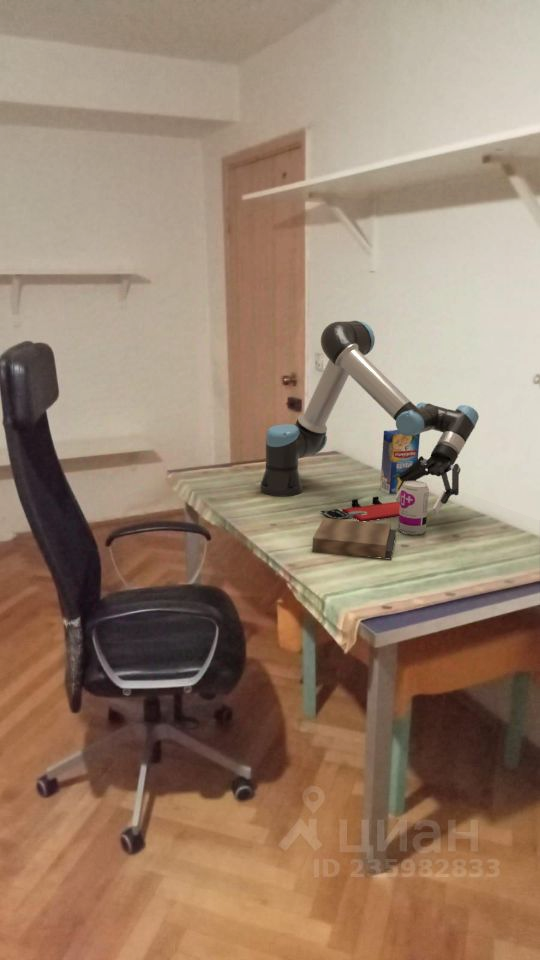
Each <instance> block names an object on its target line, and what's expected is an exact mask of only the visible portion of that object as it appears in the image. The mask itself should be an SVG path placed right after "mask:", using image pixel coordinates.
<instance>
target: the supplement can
mask: <svg viewBox="0 0 540 960" xmlns="http://www.w3.org/2000/svg"><path fill="white" fill-rule="evenodd" d="M429 493H430V489H429V486H428V483H426V482H425V481H419V480H416V481H405V482H404V484H403V485H402V487H401V496H400V510H399V517H398V526H397V527H398V528H397V529H398V530H399V532H401V533H402V532H404V533H406V534H405V535H408V534H414V535H413V536H418V535H417V534H420V535H423V534H424V533H425V532H426V529H427V520H428V519H427V518H428V508H429V507H428V505H429V495H430V494H429ZM404 533H403V534H404ZM422 533H423V534H422ZM415 534H416V535H415Z"/></svg>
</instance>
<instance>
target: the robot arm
mask: <svg viewBox="0 0 540 960" xmlns="http://www.w3.org/2000/svg"><path fill="white" fill-rule="evenodd" d="M375 340H376V339H375V334H374V331H373V329H372V327H371V326H370V325H369V324H367V323H366V322H364V321H359V320H352V321H351V320H350V321H334V322H331V323H329V324H328V325H327V326H326V327H325V328H324V329H323V331H322V333H321V336H320V345H321V349H322V351H323V353H324V355H325V356H326V357H327V359H328V362H327V363H326V366H325V368H324V370H323V372H322V374H321V377H320V379H319V380H318V384H317V385H316V387H315V390H314V392H313V394H312V396H311V398H310V400H309V403H308V405H307V408H306V409H305V411H304V414H300V415H298V417H297V419H296V421H295V422H294V423H295V424H289V423H288V424H287V423H284V424H277V425H273V426H271V427H269V428H268V429H267V431H266V437H265V471H264V474H263V476H262V479H261V482H260V492H261V493H262V494H266V495H269V496H275V497H289V496H295V495H299V494H301V493H302V492H303V484H302V480H301V477H300V476H301V475H300V472H299V459H302V458H306V457H309V456H314V455H315V454H317V453H319V452H321V451H322V450H323V449H324V448H325V446H326V444H327V440H328V439H327V438H328V436H327V431H328V426H327V425H326V424H327V421H328V420H329V418H330V415H331V413H332V411H333V409H334V407H335V405H336V404H337V403H336V402H337V401H338V399H339V397H340V394H341V392H342V391H343V388H344V386H345V384H346V382H347V380H348V378H349V376H350V377H351V379H353V380H354V381H355V382H356V383H357V384H358V385H359V386H360V387H361V388H362V389H363V391H365V392H366V393H367V394H368V395H369V396H370V397H371V398H372V399H373V400H374V401H375V402H376V403H377V404H378V405H379V406H380V407H381V408H382V409H383V410H384V411H385V412H386V413H387V414H388V415H389V416H390V417H391V418H392V419H393V420H394V421H395V427H396V430H398V431H399V433H401V434H402V435H404V436H414V435H418V434H419V433H420V434H422V433H425V432H429V431H431V430H434V431H437V432H440V433H442V434H441V436H440V437H439V439H438V441H437V442H436V444H435V446H434V448H433V450H432V451H431V454H430V456H429V458H428V459H427V458H424V457H423V455H421V456H418V460H417V462H415V463H414V464H413V465H412V466H410V467H409V468H408V469H407V470H405V471H404V472H403V473H402V474H400V475H399V478H400V480H401V481H402V482H401V484H400V486H399V488H398V490H399V491H398V493H397V494H395V497H394V499H395V502H398V503H400V496H401V487H402V485H403V484H404V482H405V481H415V480H416V481H418V480H419V479H420V478H423V477H426V476H428V475H431V476H436V477H441V479H442V483H443V486H444V490H441V492H440V494H439V496H438V497H437V499H436V502H435V503H434V505H433V507H432V510H433V512H434V513H435V514H436V515H437V514H439V513H440V511H441V509H442V507H443V505H446V504H447V503H448V501H449V500H450V497H451V496H453V495H454V496H458V495H460V494H459V487H460V485H459V484H460V483H459V482H460V480H459V478H460V476H459V475H460V472H461V467H460V466H459V464H458V463H456V461H457V459H458V457H459V455H460V454H461V451H462V450H463V448H464V447H465V444H466V443H467V441H468V439H469V438H470V436H471V434H472V432H473V430H474V429H475V428H476V425H477V423H478V421H479V413H478V411H477V410H476V409H474V407H472V406H470V405H466V404H464V405H463V404H461V405H458V407H456V408H455V410H454V409H448V408H444V407H441V406H438V405H434V404H431V403H429V402H428V403H427V402H419V403H417V404H416V405H415V404H414V403H413V402H412V401H411V400H410V399H409V398H408V397H407V396H406V395H405V394H404V393H403V392H402V391H401V390H400V389H399V388H398V387H397V386H395V384H394V383H393V382H392V381H390V379H388V378H387V377H386V376H385V375H384V373H383V372H381V370H379V369H378V368H377V367H376V365H374V364H373V363H372V361H370V360H369V359H368V358H367V357H366V355H368V354H369V353H371V351H372V350H373V349H374V346H375V343H376V342H375ZM450 471H451V485H450V482H449V477H448V474H447V473H448V472H450Z"/></svg>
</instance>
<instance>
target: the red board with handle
mask: <svg viewBox="0 0 540 960" xmlns="http://www.w3.org/2000/svg"><path fill="white" fill-rule="evenodd" d="M399 510H400V503H398V502H397V501H395V502H386V503H382V502H381V501H380V498H379V496H372V504H370V505H364V506H363V505H361V504H360V503H359V498H354V499H351V507H348V508H342V511H341V510H339V509H338V508H334V509H326V510H325V509H324V510H320V513H322V514H324V515H325V516H327V517H328V518H331V519H345V518H349V517H350V518H349V519H354V518H355V519H354V520H356V519H357V520H356V521H358V520H359V521H367V522H371V521H370V520H374V521H378V520H377V519H380V520H384V519H385V518H386V519H391V517H393V518H397V516H399ZM345 513H346V514H345Z"/></svg>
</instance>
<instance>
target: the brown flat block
mask: <svg viewBox="0 0 540 960" xmlns="http://www.w3.org/2000/svg"><path fill="white" fill-rule="evenodd" d="M391 525H392V524H391V523H384V522H383V523H382V522H374V521H367V522H363V521H358V520H350V519H342V518H340V519H332V518H330V517H323V519H321V522H320V524H319V526H318V527H317V529H316V531H315V533H314V535H313V537H312V549H311V550H312V552H315V553H326V554H334V555H343V556H351V555H356V556H355V557H360V556H368V557H367V558H369V556H370V557H381V558H391V559H392V557H393V552H392V551H394V547H393V546H394V545H395V542H394V541H396V536H397V533H396V532H397V529H392V526H391ZM391 556H392V557H391Z"/></svg>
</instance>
